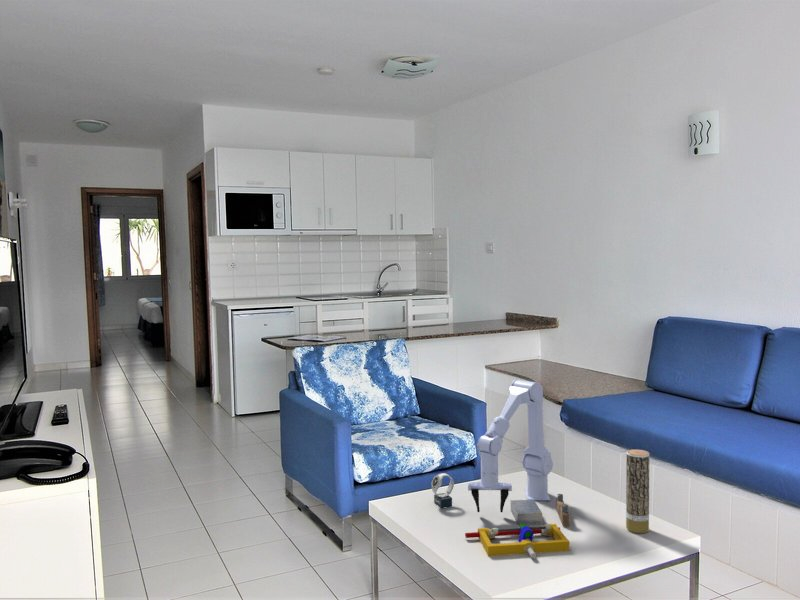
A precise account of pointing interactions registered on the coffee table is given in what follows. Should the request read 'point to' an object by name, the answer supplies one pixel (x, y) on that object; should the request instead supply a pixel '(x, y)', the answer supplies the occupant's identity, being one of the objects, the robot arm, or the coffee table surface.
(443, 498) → the watch
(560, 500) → the bench stop
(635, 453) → the brown bark patterned canister
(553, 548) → the mechanical clamp
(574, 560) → the coffee table surface
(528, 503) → the grey metal block
